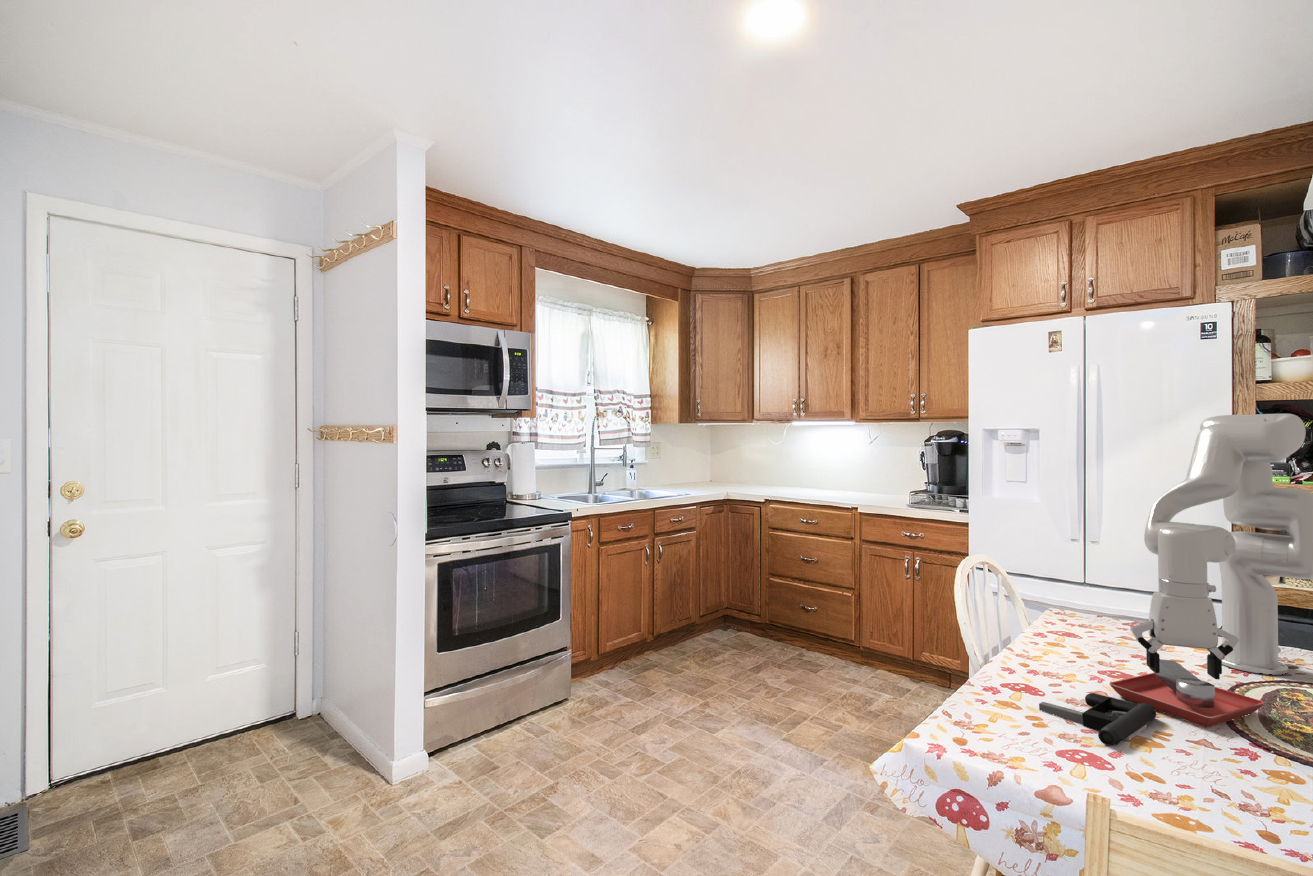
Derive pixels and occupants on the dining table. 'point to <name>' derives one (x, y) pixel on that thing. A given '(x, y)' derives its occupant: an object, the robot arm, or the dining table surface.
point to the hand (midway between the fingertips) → (1183, 673)
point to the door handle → (1107, 717)
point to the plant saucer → (1166, 701)
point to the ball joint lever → (1186, 685)
